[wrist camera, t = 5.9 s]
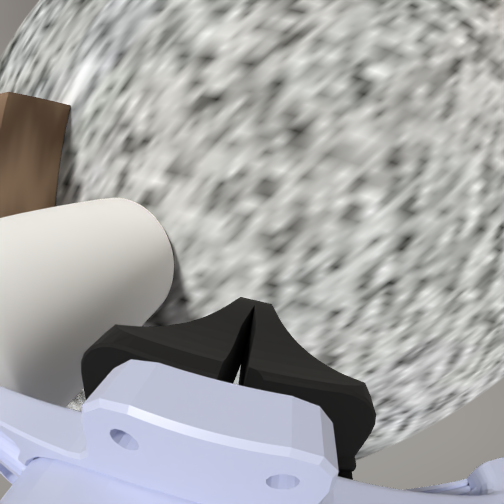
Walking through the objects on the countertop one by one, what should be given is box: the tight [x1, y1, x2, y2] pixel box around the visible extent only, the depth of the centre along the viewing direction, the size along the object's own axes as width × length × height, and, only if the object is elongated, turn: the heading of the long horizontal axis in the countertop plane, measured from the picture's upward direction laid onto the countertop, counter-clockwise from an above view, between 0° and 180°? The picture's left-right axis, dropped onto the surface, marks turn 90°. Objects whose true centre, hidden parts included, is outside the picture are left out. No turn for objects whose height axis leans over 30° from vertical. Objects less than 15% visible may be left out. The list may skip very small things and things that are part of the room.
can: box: [0, 198, 174, 407], centre depth 9 cm, size 6×6×12 cm
